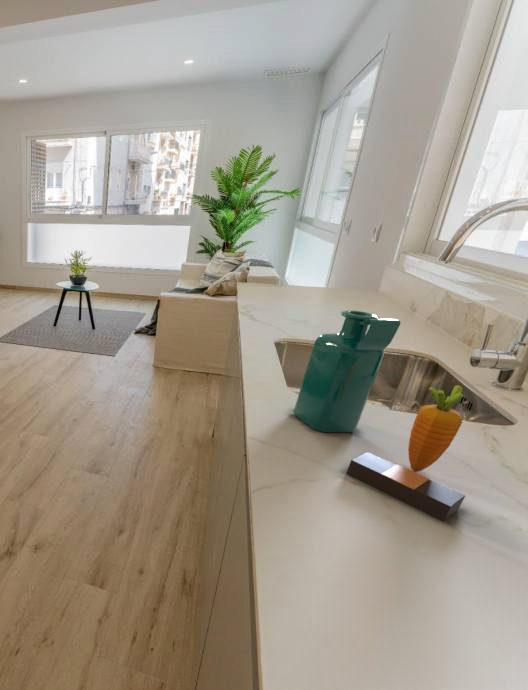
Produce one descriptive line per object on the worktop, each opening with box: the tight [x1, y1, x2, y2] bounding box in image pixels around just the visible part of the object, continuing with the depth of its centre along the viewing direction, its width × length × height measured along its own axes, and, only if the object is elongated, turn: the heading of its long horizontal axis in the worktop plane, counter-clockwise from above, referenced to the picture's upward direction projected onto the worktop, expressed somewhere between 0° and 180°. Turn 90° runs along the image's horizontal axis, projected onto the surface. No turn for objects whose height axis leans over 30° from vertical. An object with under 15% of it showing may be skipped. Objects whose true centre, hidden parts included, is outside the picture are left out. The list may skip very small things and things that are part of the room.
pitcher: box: [293, 309, 401, 433], centre depth 77 cm, size 10×8×22 cm
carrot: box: [407, 385, 464, 473], centre depth 65 cm, size 5×5×15 cm
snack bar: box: [346, 451, 466, 522], centre depth 63 cm, size 5×12×3 cm, turn 29°
